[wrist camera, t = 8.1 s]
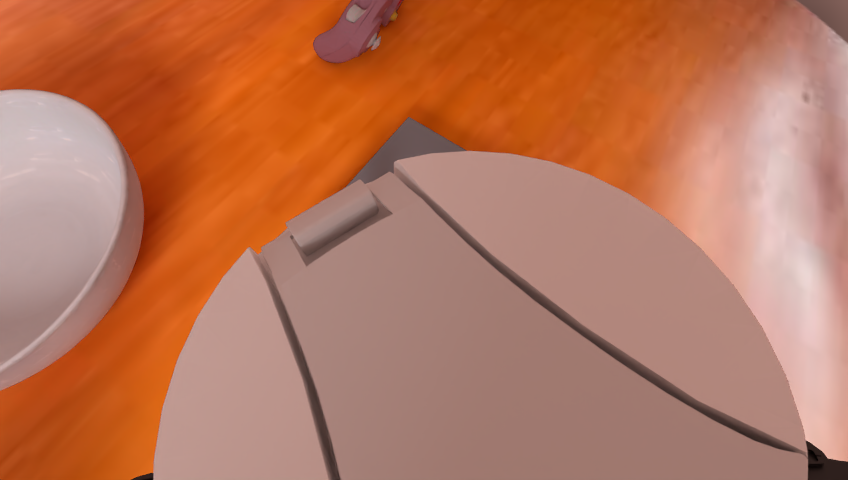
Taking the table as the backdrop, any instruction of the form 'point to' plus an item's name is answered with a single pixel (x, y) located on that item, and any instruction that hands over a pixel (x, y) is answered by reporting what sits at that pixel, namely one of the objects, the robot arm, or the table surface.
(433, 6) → the table surface
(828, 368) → the table surface
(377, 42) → the purple lumpy piece
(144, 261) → the table surface
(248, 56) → the table surface
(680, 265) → the coffee cup
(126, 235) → the serving bowl
